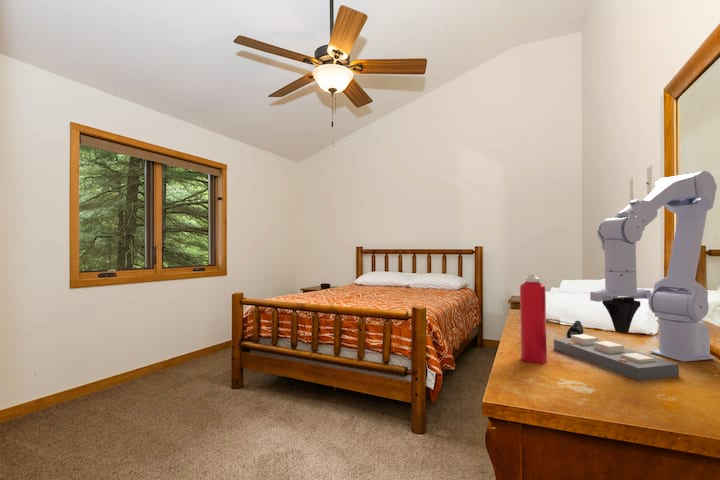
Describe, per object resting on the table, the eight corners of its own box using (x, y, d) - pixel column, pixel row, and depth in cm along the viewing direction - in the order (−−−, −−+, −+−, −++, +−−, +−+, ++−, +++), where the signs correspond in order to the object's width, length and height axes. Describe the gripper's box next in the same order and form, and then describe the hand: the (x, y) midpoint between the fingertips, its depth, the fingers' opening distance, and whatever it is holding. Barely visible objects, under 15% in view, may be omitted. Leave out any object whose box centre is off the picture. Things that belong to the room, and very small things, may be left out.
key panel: (586, 346, 97) (586, 336, 97) (679, 376, 75) (678, 363, 75) (553, 349, 95) (553, 338, 95) (639, 380, 72) (638, 367, 73)
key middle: (608, 354, 87) (608, 341, 87) (623, 359, 83) (623, 345, 83) (594, 355, 86) (594, 342, 86) (609, 360, 82) (609, 346, 82)
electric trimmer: (585, 330, 117) (585, 320, 117) (581, 340, 104) (581, 329, 105) (571, 329, 119) (571, 319, 119) (566, 338, 107) (566, 327, 107)
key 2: (636, 367, 80) (636, 352, 80) (654, 373, 76) (654, 358, 76) (621, 369, 79) (621, 354, 80) (639, 375, 76) (638, 359, 76)
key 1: (584, 346, 94) (584, 334, 94) (597, 351, 90) (597, 337, 90) (571, 347, 93) (571, 335, 93) (584, 352, 89) (583, 339, 89)
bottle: (549, 364, 83) (547, 275, 83) (522, 362, 84) (521, 275, 85) (544, 357, 88) (542, 274, 88) (519, 355, 90) (518, 273, 90)
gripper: (629, 269, 87) (630, 326, 87) (578, 270, 84) (579, 330, 84) (659, 271, 81) (661, 333, 80) (605, 273, 77) (607, 337, 77)
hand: (621, 332), depth 82 cm, fingers closed
